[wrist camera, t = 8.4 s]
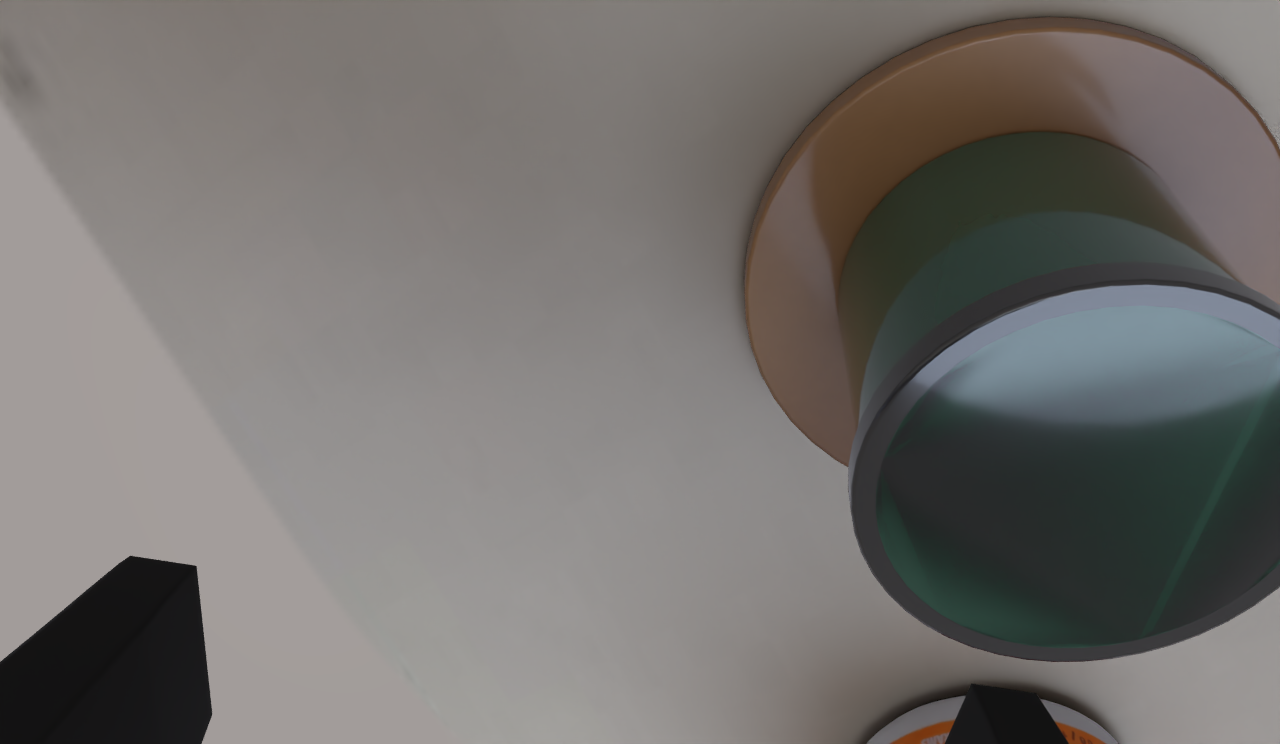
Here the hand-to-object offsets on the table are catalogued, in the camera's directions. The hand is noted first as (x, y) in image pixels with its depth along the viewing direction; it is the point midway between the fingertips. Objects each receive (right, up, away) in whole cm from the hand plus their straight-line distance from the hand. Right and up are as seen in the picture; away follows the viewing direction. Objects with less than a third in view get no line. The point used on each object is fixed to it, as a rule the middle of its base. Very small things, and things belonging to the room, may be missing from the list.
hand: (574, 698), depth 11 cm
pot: (+6, +4, +7) cm, 10 cm away
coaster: (+6, +5, +8) cm, 11 cm away
